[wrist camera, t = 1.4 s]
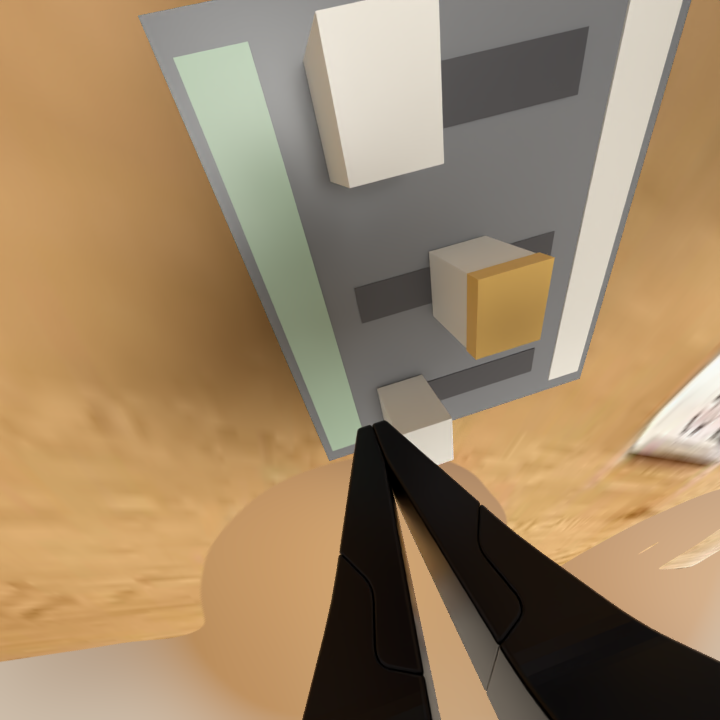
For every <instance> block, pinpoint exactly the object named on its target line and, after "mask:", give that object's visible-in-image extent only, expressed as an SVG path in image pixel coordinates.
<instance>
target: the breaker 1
mask: <svg viewBox="0 0 720 720" xmlns="http://www.w3.org/2000/svg"><path fill="white" fill-rule="evenodd" d="M303 62H304V67H305V71H306V76H307V80H308V85H309V89H310V94H311V98H312V102H313V107H314V111H315V116H316V120H317V125H318V129H319V133H320V138H321V142H322V147H323V151H324V156H325V160H326V165H327V169H328V173H329V178H330V182H333V183H336V184H339V185H342V186H345V187H348V188H353V187H357V186H360V185H364V184H368V183H372V182H376V181H379V180H383V179H387V178H391V177H395V176H399V175H402V174H406V173H410V172H414V171H418V170H421V169H425V168H429V167H433V166H437V165H441V164H444V145H443V114H442V82H441V51H440V19H439V0H364V1H359V2H355V3H350V4H345V5H341V6H336V7H331V8H327V9H322V10H317V11H315V15H314V19H313V23H312V27H311V31H310V35H309V39H308V43H307V46H306V50H305V54H304V58H303Z"/></svg>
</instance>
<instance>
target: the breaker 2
mask: <svg viewBox="0 0 720 720" xmlns="http://www.w3.org/2000/svg"><path fill="white" fill-rule="evenodd" d="M377 391H378V395H379V400H380V404H381V409H382V413H383V418H384V420H386V421H387V422H389V423H390V424H391V425H392V426H393V427H394V428H395V429H397V430H398V431H399V432H400V433H401V434H402V435H403V436H405V437H406V438H407V439H408V440H409V441H410V442H411V443H413V444H414V445H415V446H416V447H417V448H418V449H419V450H421V451H422V452H423V453H424V454H425V455H426V456H427V457H429V458H430V459H431V460H432V461H433V462H434V463H435V464H436V465H439V464H442V463H445V462H448V461H451V460H453V429H452V417H451V416H450V415H449V413H448V412H447V410H446V409H445V407H444V406H443V404H442V403H441V401H440V400H439V399H438V397H437V396H436V394H435V393H434V391H433V390H432V388H431V387H430V385H429V384H428V383H427V381H426V380H425V378H424V377H423V375H419V376H416V377H413V378H410V379H406V380H403V381H400V382H397V383H394V384H390V385H387V386H384V387H381V388H378V389H377Z"/></svg>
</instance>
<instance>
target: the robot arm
mask: <svg viewBox="0 0 720 720" xmlns="http://www.w3.org/2000/svg"><path fill="white" fill-rule="evenodd" d="M393 494H394V495H393ZM394 497H395V499H396V502H397V504H398V506H399V508H400V511H401V513H402V515H403V517H404V519H405V521H406V523H407V525H408V528H409V530H410V532H411V534H412V536H413V538H414V540H415V542H416V545H417V547H418V549H419V551H420V553H421V555H422V557H423V559H424V561H425V563H426V566H427V568H428V570H429V572H430V574H431V576H432V579H433V581H434V582H435V585H436V587H437V589H438V591H439V593H440V595H441V598H442V600H443V602H444V604H445V606H446V608H447V610H448V613H449V614H450V617H451V619H452V621H453V623H454V625H455V627H456V630H457V632H458V634H459V636H460V638H461V640H462V642H463V644H464V646H465V649H466V651H467V653H468V655H469V657H470V659H471V661H472V664H473V665H474V668H475V670H476V672H477V674H478V676H479V678H480V681H481V682H482V685H483V687H484V689H485V690H486V691H487V696H488V697H489V700H490V702H491V704H492V706H493V708H494V710H495V712H496V714H497V717H498V719H499V720H720V661H718V660H716V659H714V658H712V657H709V656H707V655H705V654H703V653H701V652H699V651H697V650H694V649H692V648H690V647H688V646H686V645H684V644H682V643H680V642H678V641H675V640H673V639H671V638H669V637H667V636H665V635H663V634H661V633H659V632H658V631H656V630H654V629H651V628H650V627H648V626H647V625H645V624H643V623H642V622H640V621H638V620H637V619H635V618H633V617H632V616H630V615H629V614H627V613H626V612H624V611H622V610H621V609H619V608H618V607H617V606H615V605H614V604H612V603H611V602H610V601H608V600H607V599H605V598H604V597H603V596H601V595H600V594H598V593H597V592H596V591H594V590H593V589H591V588H590V587H589V586H587V585H586V584H584V583H583V582H582V581H580V580H579V579H578V578H576V577H575V576H573V575H572V574H571V573H569V572H568V571H566V570H565V569H564V568H562V567H561V566H559V565H558V564H557V563H555V562H554V561H553V560H551V559H550V558H548V557H547V556H546V555H544V554H543V553H541V552H540V551H539V550H537V549H536V548H535V547H534V546H532V545H531V544H530V543H528V542H527V541H526V540H524V539H523V538H522V537H520V536H519V535H518V534H516V533H515V532H514V531H513V530H512V529H510V528H509V527H508V526H507V525H506V524H504V523H503V522H502V521H501V520H499V519H498V518H497V517H496V516H495V515H494V514H493V513H491V512H490V511H489V510H488V509H487V508H486V507H485V506H483V505H480V503H479V501H478V500H476V499H475V498H474V497H473V496H472V495H471V494H469V493H468V492H467V491H466V490H465V489H464V488H463V487H461V486H460V485H459V484H458V483H457V482H456V481H455V480H453V479H452V478H451V477H450V476H449V475H448V474H447V473H445V472H444V471H443V470H442V469H441V468H440V467H439V466H438V465H436V464H435V463H434V462H433V461H432V460H431V459H430V458H429V457H427V456H426V455H425V454H424V453H423V452H422V451H421V450H419V449H418V448H417V447H416V446H415V445H414V444H413V443H411V442H410V441H409V440H408V439H407V438H406V437H405V436H403V435H402V434H401V433H400V432H399V431H398V430H397V429H395V428H394V427H393V426H392V425H391V424H390V423H389V422H387V421H386V420H382V421H379V422H376V423H374V424H373V425H372V426H371V425H367V426H364V427H361V428H359V429H358V430H357V436H356V442H355V449H354V456H353V463H352V470H351V477H350V483H349V490H348V497H347V504H346V511H345V517H344V525H343V531H342V538H341V545H340V554H341V555H339V558H338V564H337V571H336V577H335V583H334V588H333V594H332V600H331V605H330V609H329V614H328V618H327V622H326V627H325V631H324V636H323V640H322V644H321V648H320V652H319V656H318V660H317V663H316V668H315V672H314V676H313V680H312V683H311V687H310V692H309V696H308V699H307V704H306V707H305V711H304V715H303V719H302V720H441V718H440V713H439V711H438V704H437V699H436V694H435V689H434V685H433V680H432V675H431V670H430V665H429V661H428V656H427V651H426V646H425V641H424V636H423V632H422V627H421V622H420V617H419V612H418V608H417V603H416V598H415V593H414V588H413V584H412V579H411V574H410V569H409V564H408V560H407V555H406V551H405V545H404V541H403V536H402V531H401V526H400V521H399V516H398V512H397V508H396V503H395V499H394Z"/></svg>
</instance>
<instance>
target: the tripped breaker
mask: <svg viewBox="0 0 720 720" xmlns="http://www.w3.org/2000/svg"><path fill="white" fill-rule="evenodd" d="M554 259H555V257H552V256H549V255H546V254H543V253H540V252H539V253H534V252H531V251H528V250H525V249H523V248H520V247H517V246H514V245H511V244H508V243H505V242H502V241H499V240H496V239H494V238H491V237H488V236H482V237H479V238H475V239H472V240H468V241H465V242H461V243H458V244H454V245H451V246H447V247H444V248H440V249H437V250H433V251H429V260H430V275H431V290H432V305H433V316H434V317H435V318H436V319H437V320H438V321H439V322H440V323H441V324H442V325H443V326H444V327H445V328H446V329H447V330H448V331H449V332H450V333H451V334H452V335H453V336H454V337H455V338H456V339H457V340H458V341H459V342H460V343H461V344H462V345H463V346H464V347H466V351H467V352H468V353H469V354H470V355H471V356H472V357H473V358H474V359H475V360H477V359H480V358H483V357H487V356H490V355H493V354H496V353H499V352H502V351H506V350H509V349H512V348H515V347H518V346H521V345H525V344H528V343H531V342H534V341H537V340H540V337H541V332H542V326H543V321H544V315H545V309H546V304H547V298H548V292H549V287H550V281H551V275H552V270H553V264H554Z"/></svg>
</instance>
